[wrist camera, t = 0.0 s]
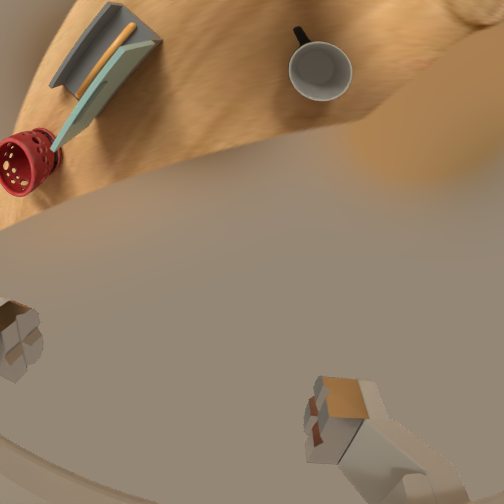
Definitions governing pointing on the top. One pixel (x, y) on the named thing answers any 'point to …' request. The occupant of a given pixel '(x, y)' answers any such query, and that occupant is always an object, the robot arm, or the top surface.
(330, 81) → the mug
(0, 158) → the plant pot
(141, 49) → the lid
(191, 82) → the top surface
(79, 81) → the grey rectangular box
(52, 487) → the robot arm
